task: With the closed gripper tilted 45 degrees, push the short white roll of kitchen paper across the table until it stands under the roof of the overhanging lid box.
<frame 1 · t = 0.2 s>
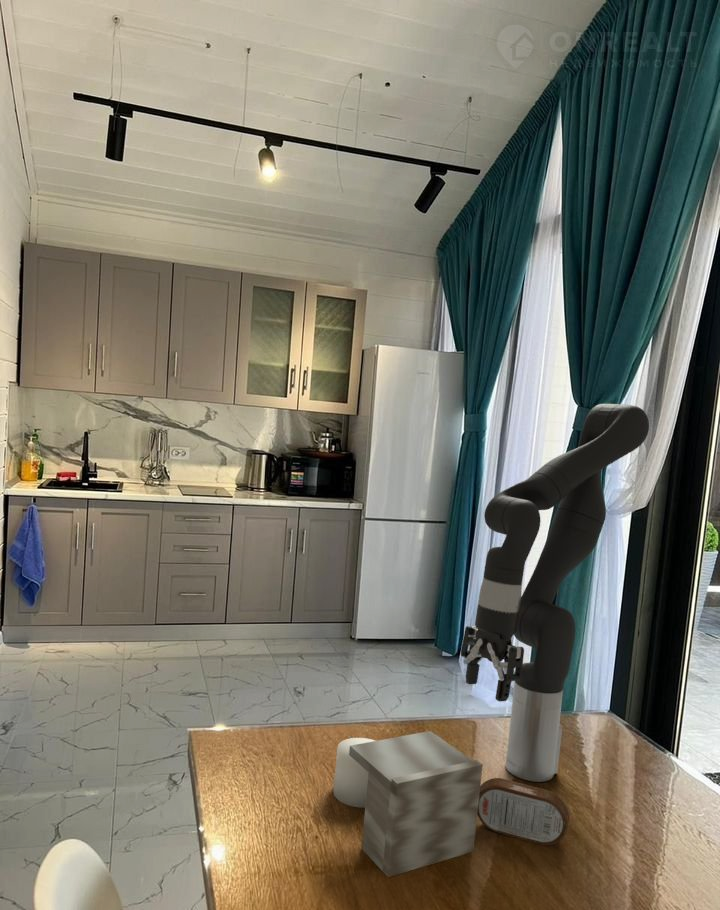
hand: (485, 691, 134), 18 cm above the table, tool pointing down, fingers open, 8 cm apart
tin: (518, 837, 119), on the table
paper roll: (358, 793, 128), on the table
overhanging lid box: (404, 836, 116), on the table
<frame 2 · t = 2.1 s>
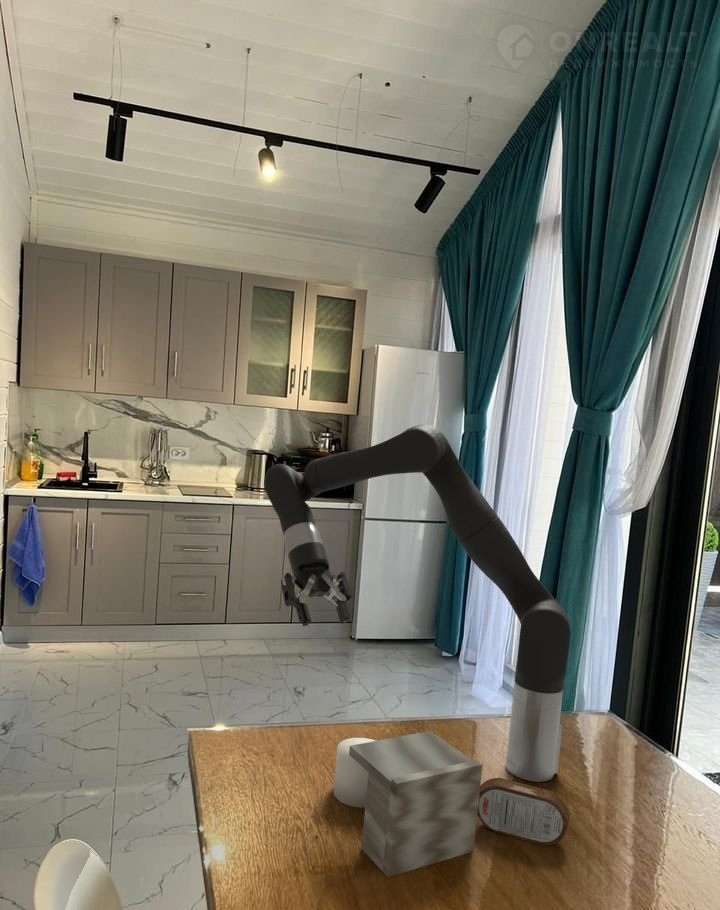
hand: (326, 623, 140), 26 cm above the table, tool tilted 45°, fingers open, 8 cm apart
nothing on the table moved.
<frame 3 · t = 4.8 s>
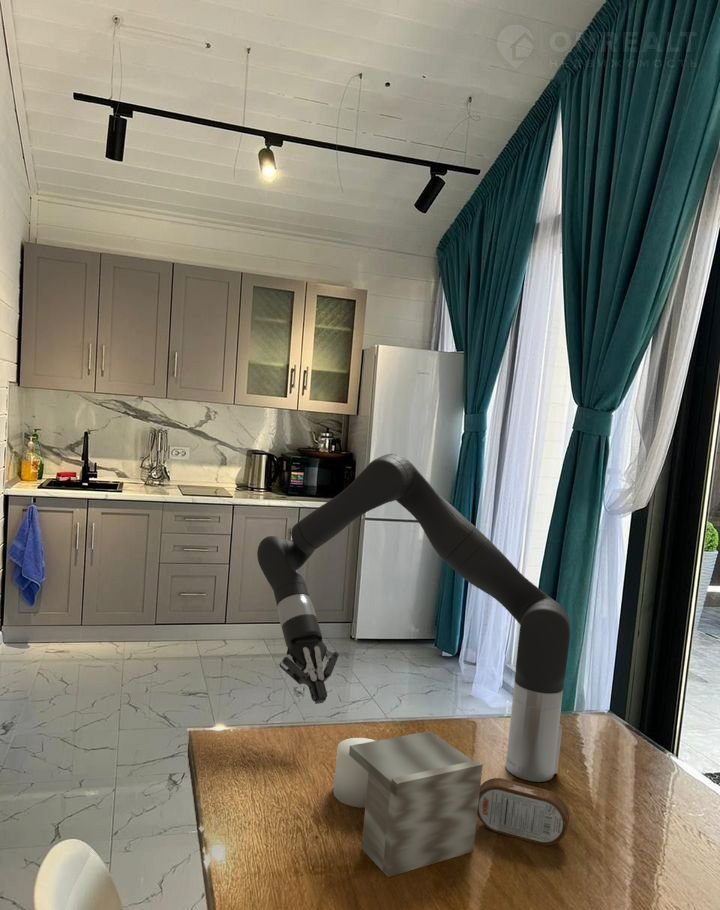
hand: (321, 701, 141), 10 cm above the table, tool tilted 45°, fingers closed
nothing on the table moved.
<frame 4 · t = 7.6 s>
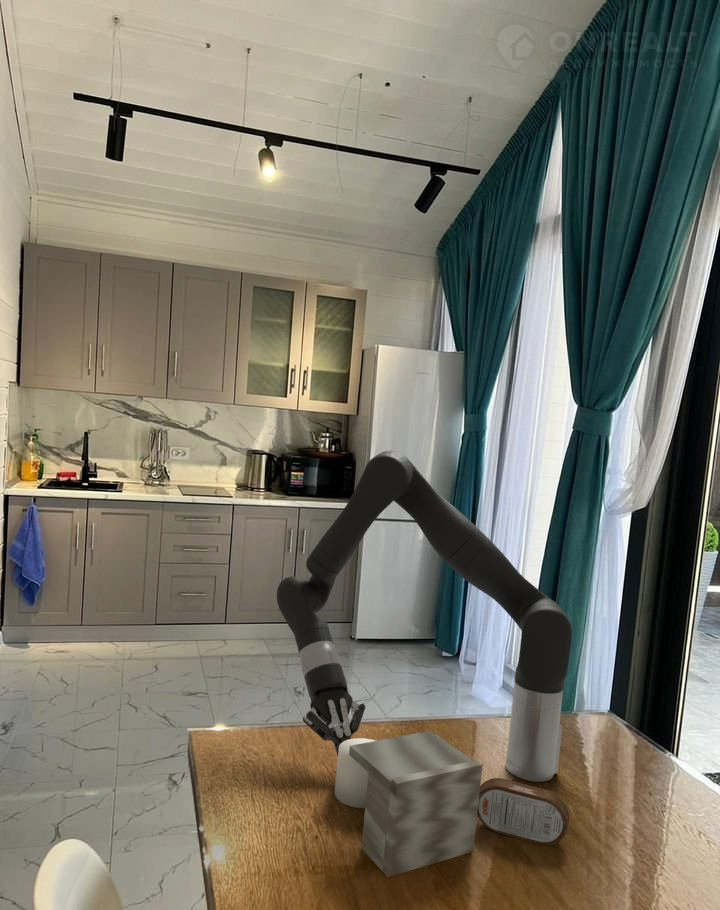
hand: (347, 760, 132), 4 cm above the table, tool tilted 45°, fingers closed
nothing on the table moved.
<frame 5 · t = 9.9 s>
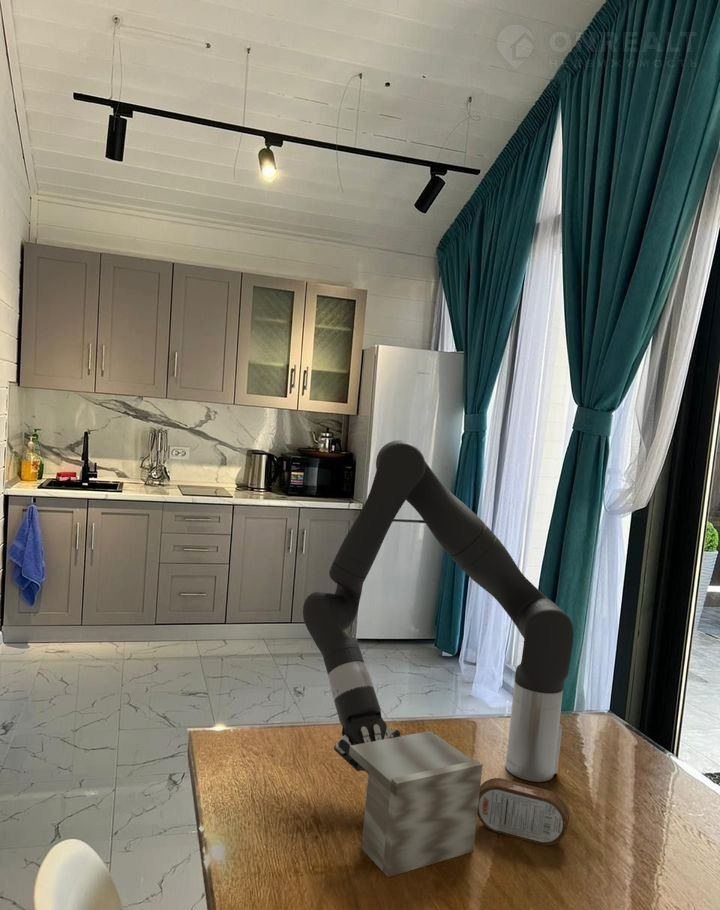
hand: (383, 792, 121), 4 cm above the table, tool tilted 45°, fingers closed
paper roll: (397, 831, 117), on the table, touching gripper
everything else where it was.
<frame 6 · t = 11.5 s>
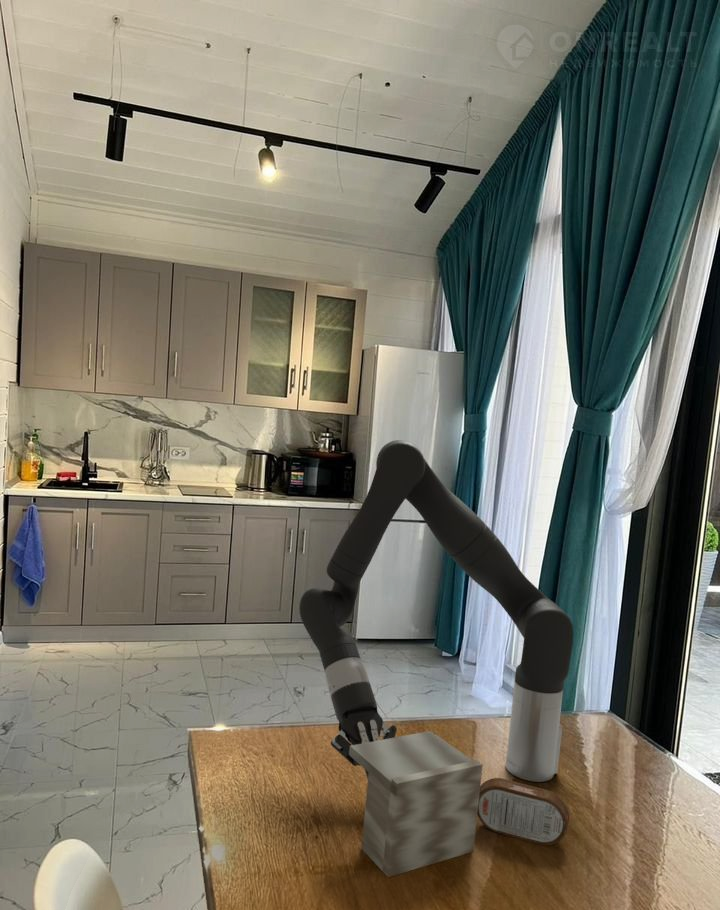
hand: (380, 787, 122), 4 cm above the table, tool tilted 45°, fingers closed
paper roll: (401, 835, 116), on the table
everything else where it was.
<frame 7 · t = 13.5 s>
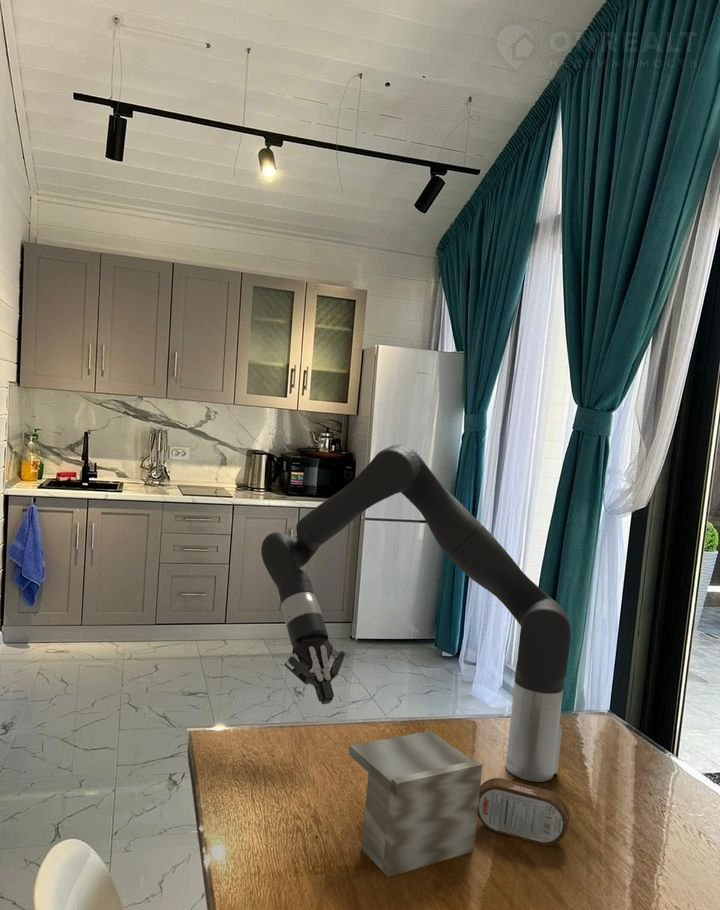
hand: (327, 702, 138), 11 cm above the table, tool tilted 45°, fingers closed
nothing on the table moved.
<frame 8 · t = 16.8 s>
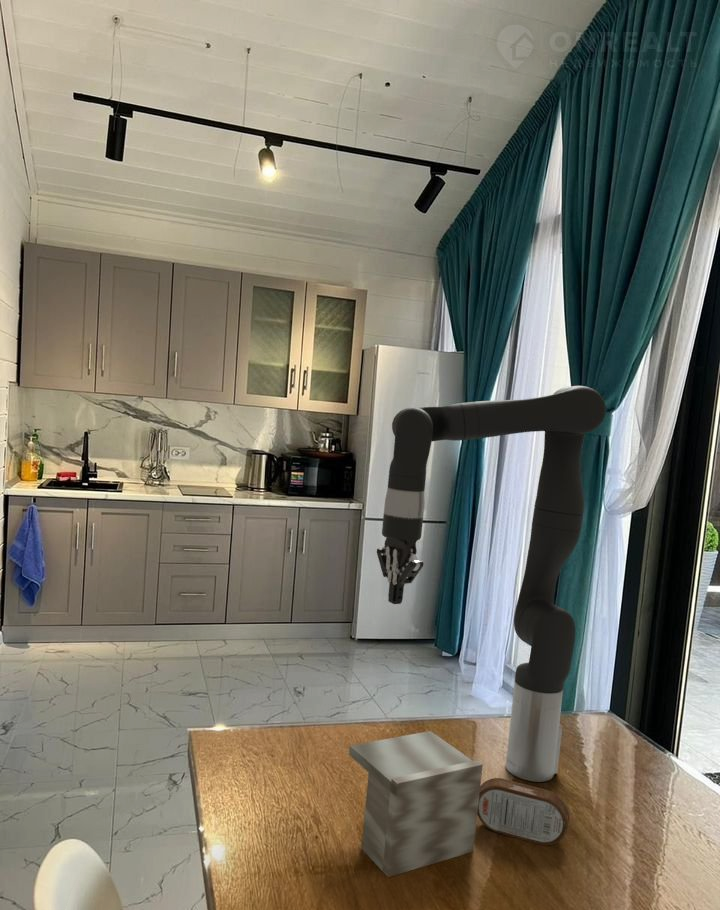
hand: (394, 602, 139), 31 cm above the table, tool pointing down, fingers closed
nothing on the table moved.
at the end: paper roll inside the target area (0.2 cm from its centre), on the table; paper roll tilted 0°; the gripper is holding nothing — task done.
